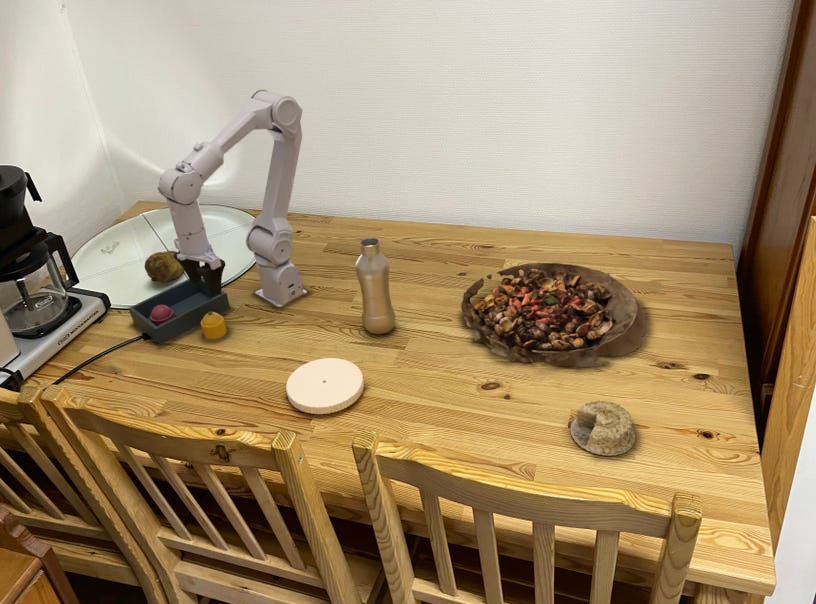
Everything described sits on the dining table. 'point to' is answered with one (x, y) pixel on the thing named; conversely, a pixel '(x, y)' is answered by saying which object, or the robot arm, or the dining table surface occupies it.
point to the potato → (163, 266)
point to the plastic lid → (325, 385)
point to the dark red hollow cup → (161, 314)
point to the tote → (179, 309)
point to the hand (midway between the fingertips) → (206, 287)
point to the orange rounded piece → (213, 325)
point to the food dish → (556, 315)
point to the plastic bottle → (375, 287)
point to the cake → (603, 428)
